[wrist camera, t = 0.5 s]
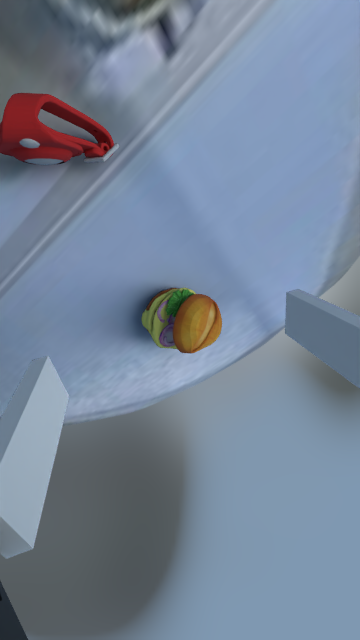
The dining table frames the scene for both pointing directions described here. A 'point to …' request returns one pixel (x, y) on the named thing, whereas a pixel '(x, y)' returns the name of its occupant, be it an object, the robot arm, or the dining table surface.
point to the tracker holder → (49, 132)
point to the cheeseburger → (182, 320)
